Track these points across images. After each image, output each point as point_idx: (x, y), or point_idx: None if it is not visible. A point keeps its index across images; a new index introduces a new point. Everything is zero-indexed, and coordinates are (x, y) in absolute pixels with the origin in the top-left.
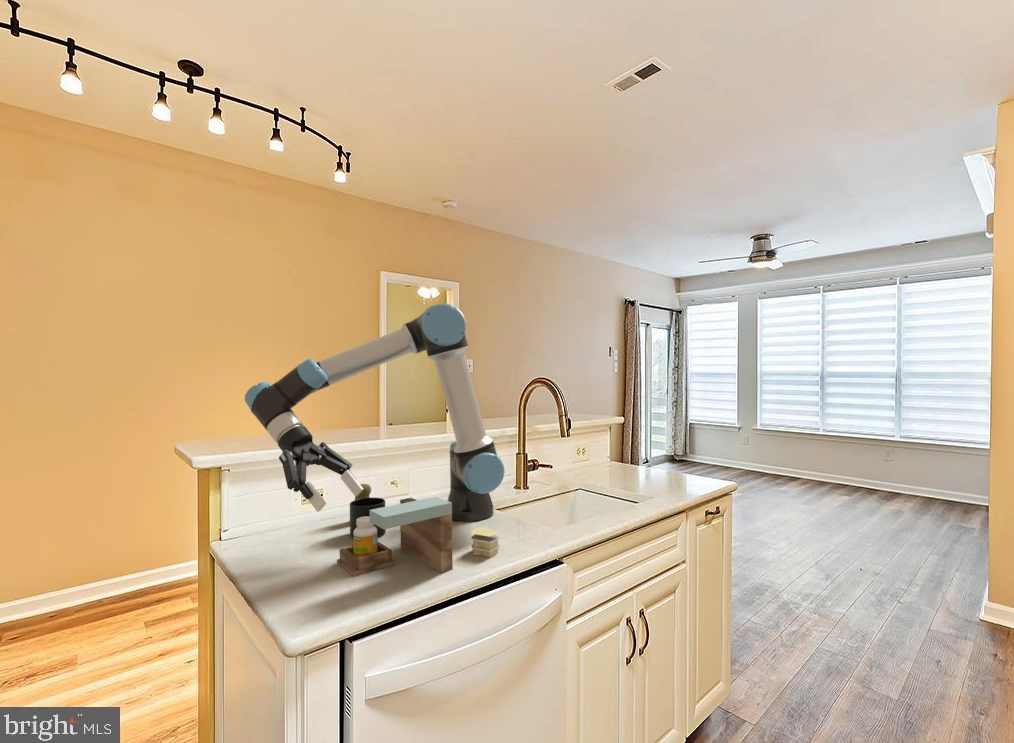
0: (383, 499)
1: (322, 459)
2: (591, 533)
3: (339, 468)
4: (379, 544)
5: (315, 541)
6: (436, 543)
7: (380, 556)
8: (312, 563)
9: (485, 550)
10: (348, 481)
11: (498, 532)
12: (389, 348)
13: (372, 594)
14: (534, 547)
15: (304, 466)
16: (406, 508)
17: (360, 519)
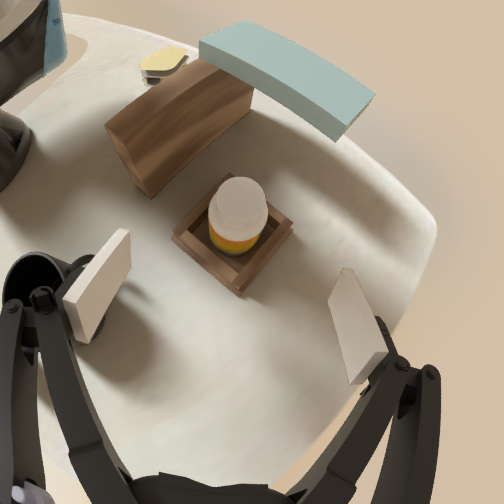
0: (14, 264)
1: (114, 458)
2: (114, 25)
3: (70, 348)
4: (200, 210)
5: (130, 406)
6: (245, 89)
7: None
8: (248, 347)
9: None
10: (102, 294)
11: (169, 46)
12: None
13: (339, 178)
14: (151, 47)
15: (357, 444)
16: (308, 65)
17: (249, 208)
